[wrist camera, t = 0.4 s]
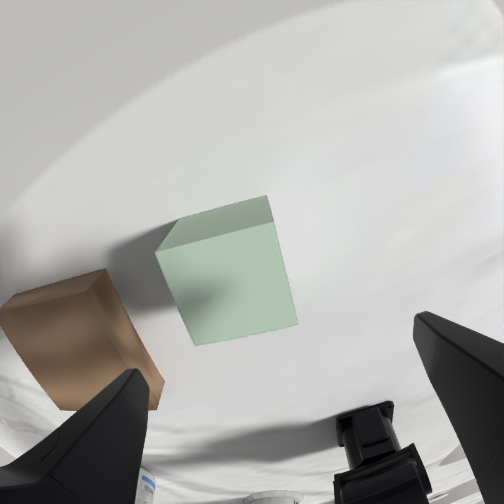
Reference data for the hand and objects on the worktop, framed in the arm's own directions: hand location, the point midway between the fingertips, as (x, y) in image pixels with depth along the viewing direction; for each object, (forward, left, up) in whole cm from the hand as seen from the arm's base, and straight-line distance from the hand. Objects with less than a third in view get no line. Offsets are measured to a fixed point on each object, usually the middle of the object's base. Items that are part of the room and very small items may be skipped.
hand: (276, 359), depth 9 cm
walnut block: (-6, +18, -13) cm, 23 cm away
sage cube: (-1, +2, -13) cm, 13 cm away
